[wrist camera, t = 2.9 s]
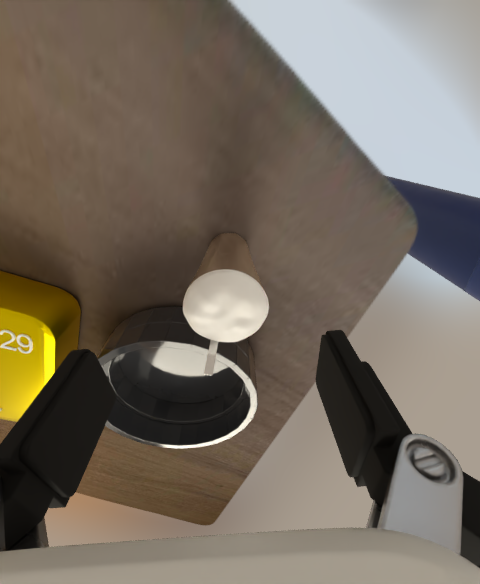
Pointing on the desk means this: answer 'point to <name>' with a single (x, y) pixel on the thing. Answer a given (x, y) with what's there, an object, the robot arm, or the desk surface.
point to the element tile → (32, 339)
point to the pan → (176, 382)
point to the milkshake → (225, 295)
